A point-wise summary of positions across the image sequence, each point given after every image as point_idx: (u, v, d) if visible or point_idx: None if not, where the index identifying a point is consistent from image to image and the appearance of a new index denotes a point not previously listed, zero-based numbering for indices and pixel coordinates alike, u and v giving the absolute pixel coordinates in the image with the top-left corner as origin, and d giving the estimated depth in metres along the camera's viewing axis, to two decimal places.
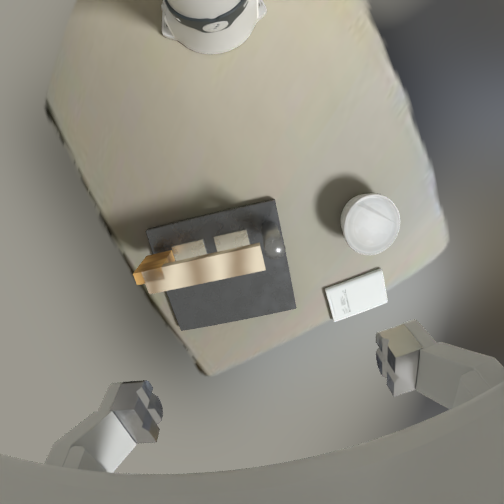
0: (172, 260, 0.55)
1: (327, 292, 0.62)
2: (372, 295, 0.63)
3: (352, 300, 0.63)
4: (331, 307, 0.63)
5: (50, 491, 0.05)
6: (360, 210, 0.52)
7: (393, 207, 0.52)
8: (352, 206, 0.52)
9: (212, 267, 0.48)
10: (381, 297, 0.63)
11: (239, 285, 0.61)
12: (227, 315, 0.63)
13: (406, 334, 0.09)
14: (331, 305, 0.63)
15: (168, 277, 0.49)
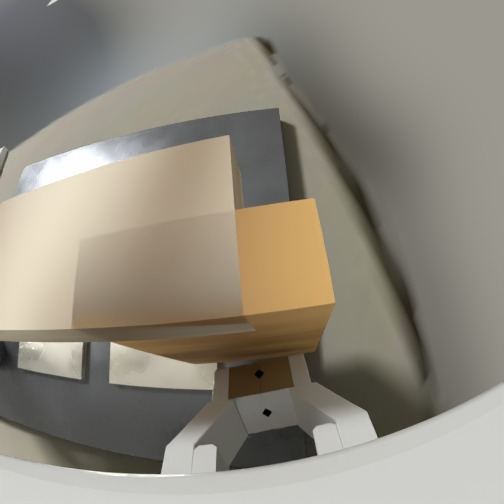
0: None
1: None
2: None
3: None
4: None
5: (50, 491, 0.05)
6: None
7: None
8: None
9: None
10: None
11: None
12: (138, 145, 0.22)
13: (283, 368, 0.09)
14: None
15: (60, 247, 0.06)
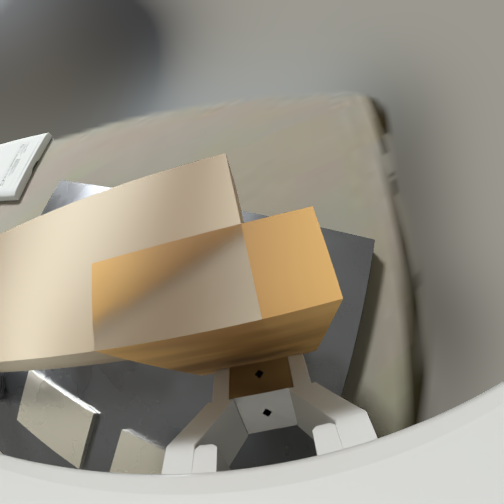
0: None
1: (14, 190, 0.24)
2: None
3: (7, 163, 0.26)
4: (30, 160, 0.26)
5: (50, 491, 0.05)
6: None
7: None
8: None
9: None
10: None
11: None
12: None
13: (283, 369, 0.09)
14: (28, 163, 0.25)
15: (71, 273, 0.07)
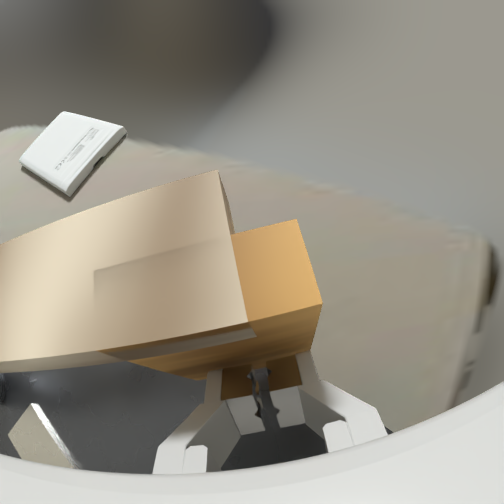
0: None
1: (67, 185, 0.24)
2: (56, 132, 0.28)
3: (70, 143, 0.27)
4: (93, 154, 0.25)
5: (50, 491, 0.05)
6: None
7: None
8: None
9: None
10: (56, 122, 0.29)
11: (120, 384, 0.16)
12: None
13: (291, 367, 0.09)
14: (90, 157, 0.25)
15: (74, 279, 0.07)
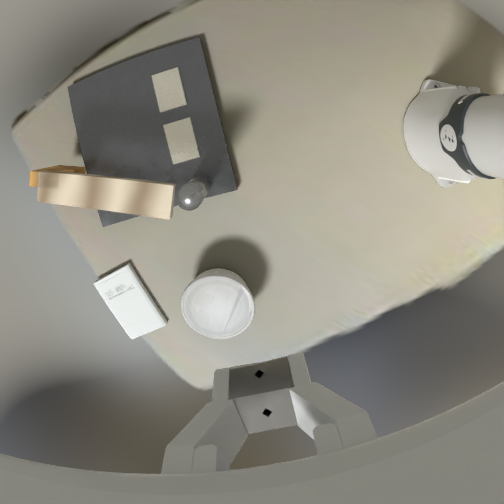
0: None
1: (126, 267, 0.49)
2: (134, 320, 0.53)
3: (123, 299, 0.51)
4: (109, 276, 0.50)
5: (50, 491, 0.05)
6: (233, 292, 0.47)
7: (241, 328, 0.49)
8: (237, 282, 0.46)
9: (110, 193, 0.35)
10: (135, 331, 0.53)
11: (127, 153, 0.43)
12: (88, 142, 0.42)
13: (283, 369, 0.09)
14: (111, 275, 0.50)
15: (61, 188, 0.34)
